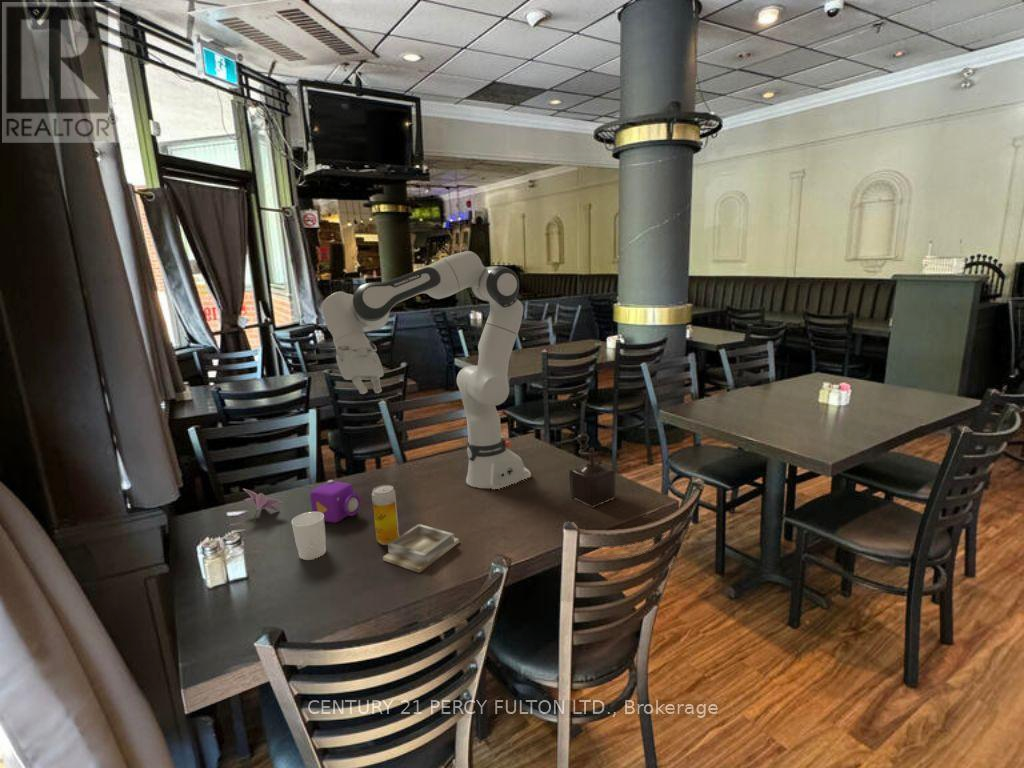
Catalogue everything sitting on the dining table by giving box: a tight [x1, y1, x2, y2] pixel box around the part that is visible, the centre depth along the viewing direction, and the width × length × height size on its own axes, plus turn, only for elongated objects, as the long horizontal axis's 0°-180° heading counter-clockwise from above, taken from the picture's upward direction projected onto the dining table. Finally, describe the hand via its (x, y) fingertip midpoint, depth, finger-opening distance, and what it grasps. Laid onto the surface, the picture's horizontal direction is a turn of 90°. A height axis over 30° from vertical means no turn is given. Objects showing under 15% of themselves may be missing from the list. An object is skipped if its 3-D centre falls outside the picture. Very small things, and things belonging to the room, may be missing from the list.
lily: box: [242, 488, 283, 523], centre depth 159 cm, size 12×12×10 cm
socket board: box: [382, 523, 460, 574], centre depth 136 cm, size 12×16×4 cm
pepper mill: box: [568, 433, 617, 506], centre depth 163 cm, size 16×11×18 cm
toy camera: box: [309, 479, 361, 524], centre depth 156 cm, size 11×14×10 cm
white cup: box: [291, 511, 327, 561], centre depth 136 cm, size 8×8×10 cm
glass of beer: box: [371, 484, 400, 546], centre depth 141 cm, size 6×6×15 cm
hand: (371, 392), depth 147 cm, fingers open, 8 cm apart
